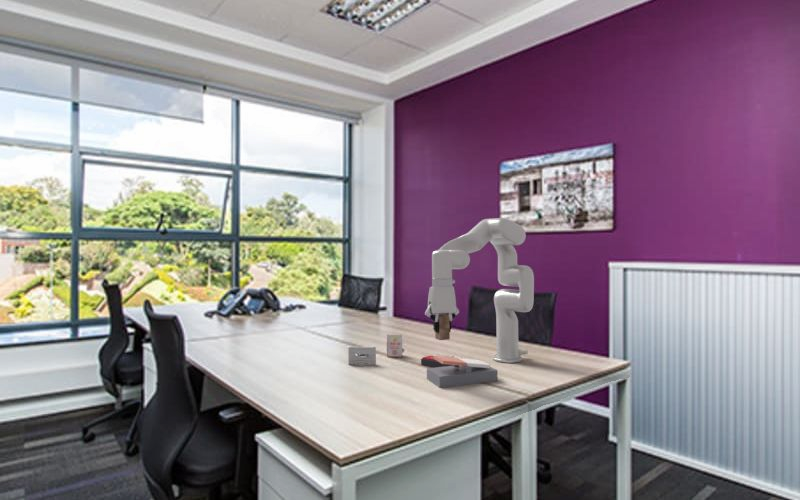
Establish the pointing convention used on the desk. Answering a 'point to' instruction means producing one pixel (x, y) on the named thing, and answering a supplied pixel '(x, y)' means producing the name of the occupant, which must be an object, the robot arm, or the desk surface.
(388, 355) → the white cardboard box
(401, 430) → the desk surface
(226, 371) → the desk surface
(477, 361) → the breaker rocker
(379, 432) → the desk surface
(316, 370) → the desk surface
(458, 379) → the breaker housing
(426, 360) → the calculator
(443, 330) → the peg
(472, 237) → the robot arm
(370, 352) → the cassette
